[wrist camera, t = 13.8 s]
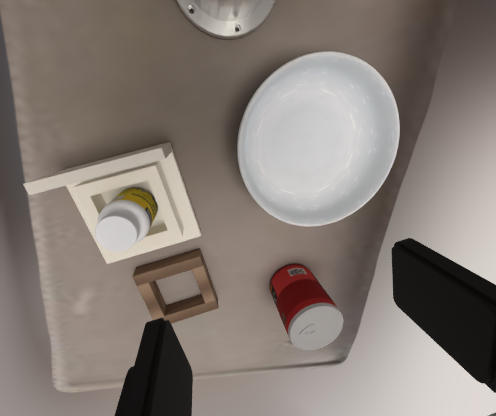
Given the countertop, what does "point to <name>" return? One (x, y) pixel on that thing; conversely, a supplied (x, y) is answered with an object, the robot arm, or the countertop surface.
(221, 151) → the countertop surface
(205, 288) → the walnut socket block
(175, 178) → the cream rack
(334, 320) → the canned food
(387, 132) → the serving bowl
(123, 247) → the supplement bottle
